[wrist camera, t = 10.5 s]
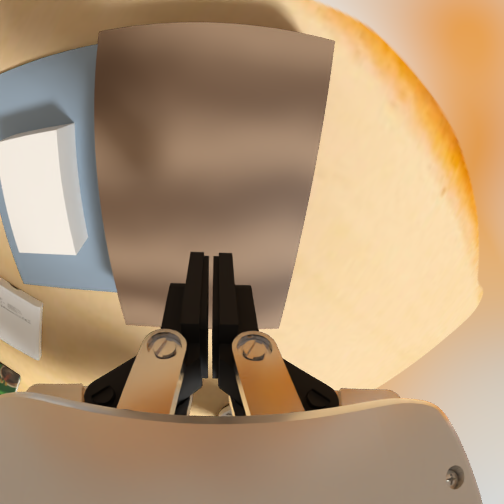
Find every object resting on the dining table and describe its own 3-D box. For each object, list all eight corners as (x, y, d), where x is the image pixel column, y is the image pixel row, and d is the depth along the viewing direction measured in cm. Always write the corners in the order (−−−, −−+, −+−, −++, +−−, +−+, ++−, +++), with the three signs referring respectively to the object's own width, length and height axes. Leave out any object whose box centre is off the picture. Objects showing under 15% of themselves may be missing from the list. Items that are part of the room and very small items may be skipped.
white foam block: (19, 252, 16) (33, 236, 18) (76, 255, 17) (88, 237, 19) (-5, 143, 11) (14, 134, 14) (56, 129, 12) (74, 123, 14)
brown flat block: (270, 294, 25) (278, 328, 21) (135, 290, 23) (126, 324, 20) (311, 48, 14) (334, 41, 11) (123, 40, 12) (99, 31, 9)
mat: (135, 290, 23) (135, 293, 23) (25, 281, 21) (23, 283, 21) (123, 40, 12) (121, 40, 12) (-12, 80, 10) (-14, 80, 10)
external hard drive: (-2, 326, 25) (-9, 266, 20) (42, 352, 28) (45, 299, 23) (-7, 334, 24) (-16, 275, 19) (39, 361, 27) (39, 309, 22)
